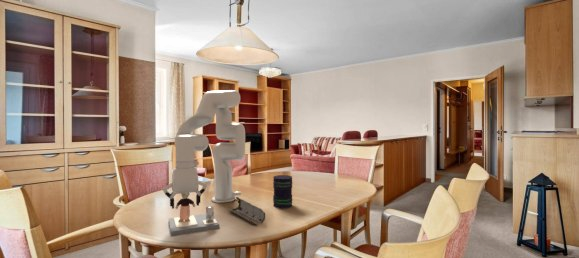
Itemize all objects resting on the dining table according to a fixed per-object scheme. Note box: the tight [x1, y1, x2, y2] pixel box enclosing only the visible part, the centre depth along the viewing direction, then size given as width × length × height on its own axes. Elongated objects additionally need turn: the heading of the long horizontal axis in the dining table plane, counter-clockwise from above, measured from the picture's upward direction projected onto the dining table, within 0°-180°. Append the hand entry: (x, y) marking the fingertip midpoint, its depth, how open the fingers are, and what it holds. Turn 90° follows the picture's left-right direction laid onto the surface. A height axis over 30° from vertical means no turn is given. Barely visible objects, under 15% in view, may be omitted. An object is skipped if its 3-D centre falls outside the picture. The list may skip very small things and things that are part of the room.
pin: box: [205, 205, 215, 223], centre depth 116 cm, size 3×3×6 cm
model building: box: [227, 196, 266, 226], centre depth 128 cm, size 7×7×25 cm
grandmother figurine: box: [174, 193, 196, 222], centre depth 117 cm, size 8×4×13 cm, turn 117°
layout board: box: [168, 213, 220, 236], centre depth 117 cm, size 18×16×2 cm
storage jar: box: [272, 174, 293, 210], centre depth 145 cm, size 10×10×15 cm
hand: (185, 206), depth 116 cm, fingers open, 9 cm apart
